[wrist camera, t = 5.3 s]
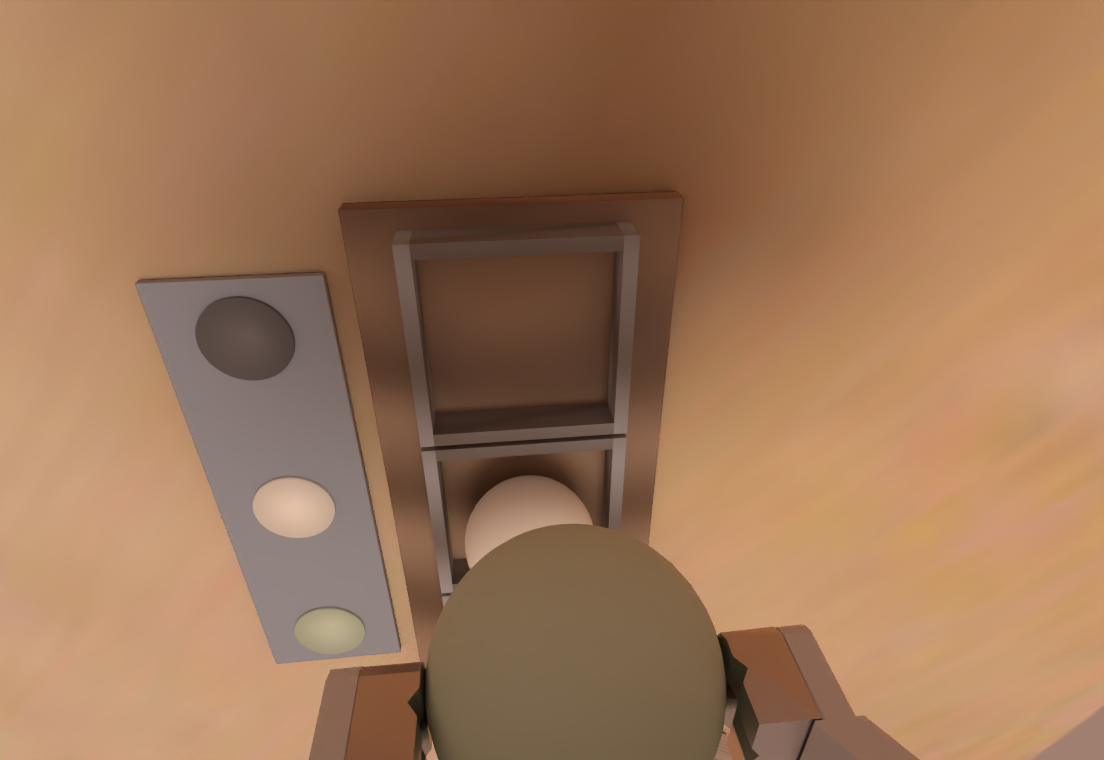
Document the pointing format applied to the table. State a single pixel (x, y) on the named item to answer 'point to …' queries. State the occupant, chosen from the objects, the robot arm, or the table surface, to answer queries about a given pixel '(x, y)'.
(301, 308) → the pattern card
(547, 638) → the sage ball
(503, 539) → the cream ball
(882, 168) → the table surface
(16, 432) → the table surface
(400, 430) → the socket board
